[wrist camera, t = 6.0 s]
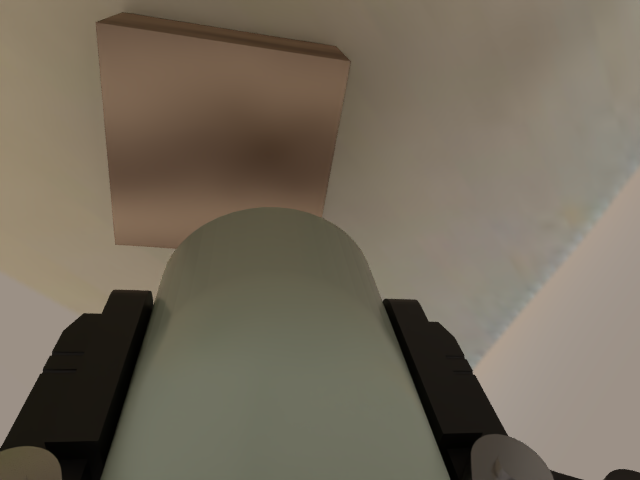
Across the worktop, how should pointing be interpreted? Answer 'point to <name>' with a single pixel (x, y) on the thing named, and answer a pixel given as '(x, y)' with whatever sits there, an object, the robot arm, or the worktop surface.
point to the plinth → (213, 124)
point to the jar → (271, 364)
